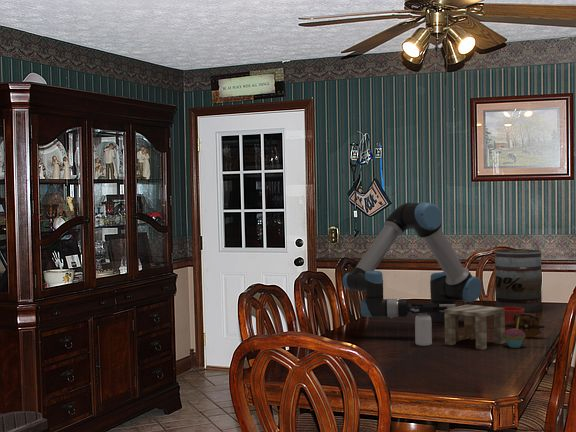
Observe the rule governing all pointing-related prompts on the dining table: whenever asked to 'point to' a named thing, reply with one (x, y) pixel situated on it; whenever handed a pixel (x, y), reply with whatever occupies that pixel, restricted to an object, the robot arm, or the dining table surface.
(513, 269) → the barrel
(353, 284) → the robot arm
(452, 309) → the stool
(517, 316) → the wooden carving
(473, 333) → the gate leg
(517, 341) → the cupcake
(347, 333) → the dining table surface
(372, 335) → the dining table surface
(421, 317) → the can
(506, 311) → the flower pot
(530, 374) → the dining table surface
